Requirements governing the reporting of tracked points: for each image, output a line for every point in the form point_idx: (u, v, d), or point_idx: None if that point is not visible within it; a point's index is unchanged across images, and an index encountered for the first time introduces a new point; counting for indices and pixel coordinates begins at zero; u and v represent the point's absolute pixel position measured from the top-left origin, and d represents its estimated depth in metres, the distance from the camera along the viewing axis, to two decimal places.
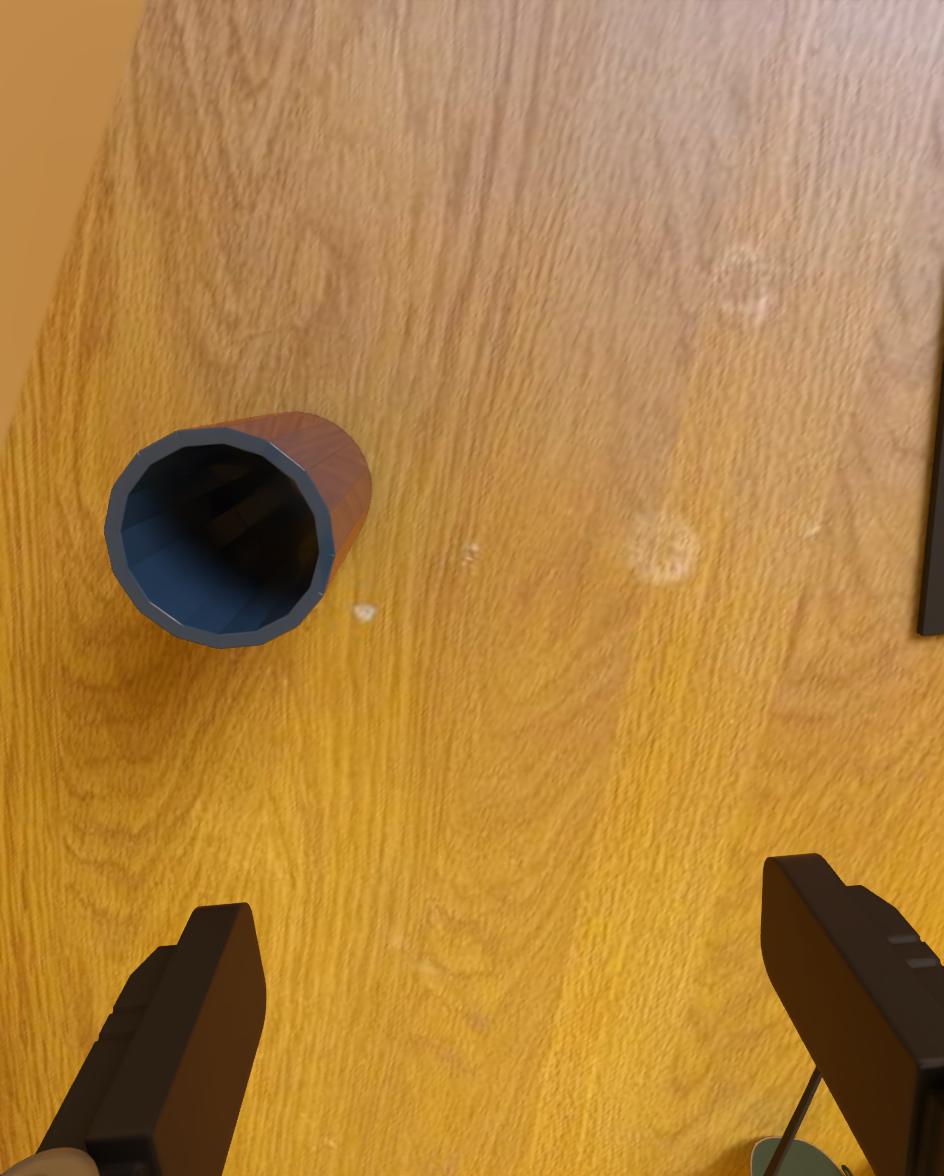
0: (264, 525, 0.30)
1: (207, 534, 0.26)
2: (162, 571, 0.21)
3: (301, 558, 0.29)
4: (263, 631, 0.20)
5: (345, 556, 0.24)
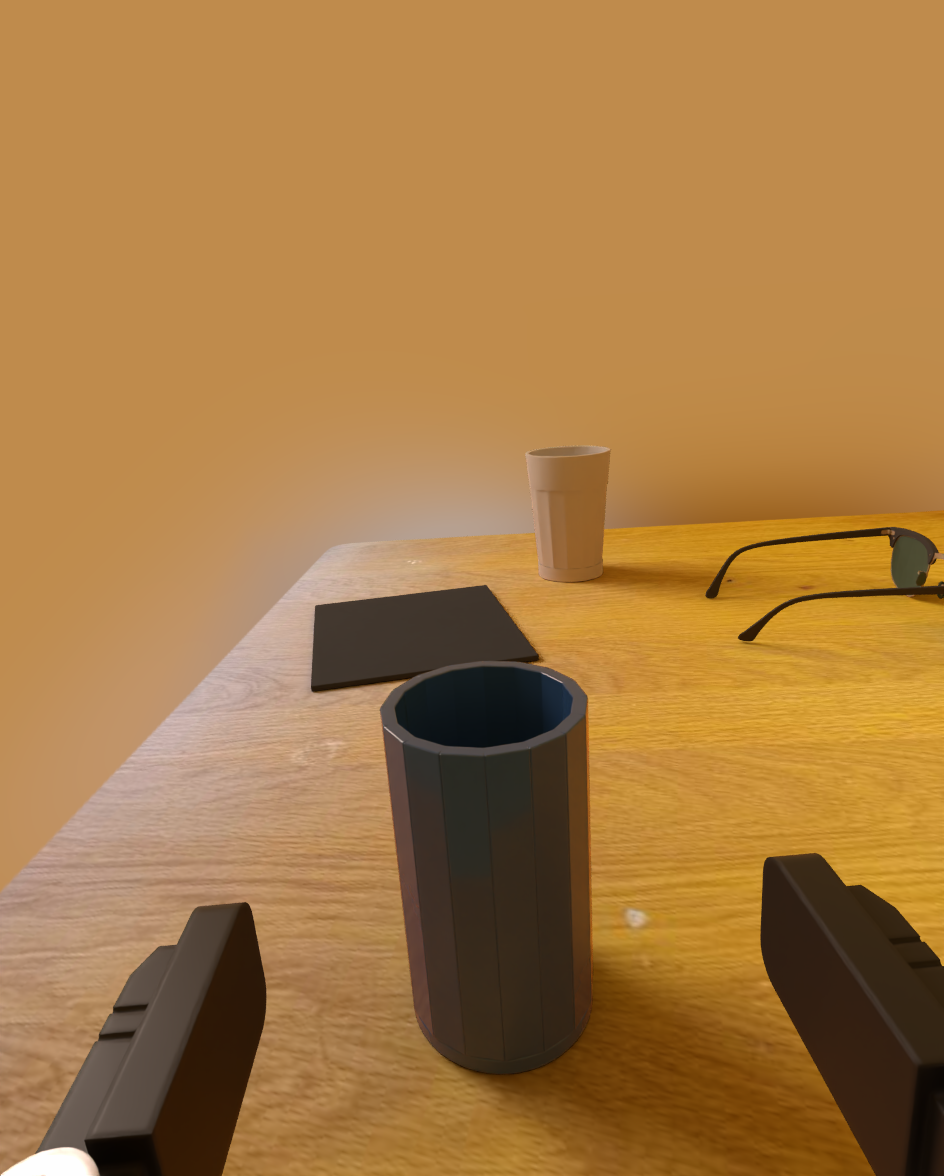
0: None
1: None
2: None
3: None
4: (560, 679, 0.23)
5: None
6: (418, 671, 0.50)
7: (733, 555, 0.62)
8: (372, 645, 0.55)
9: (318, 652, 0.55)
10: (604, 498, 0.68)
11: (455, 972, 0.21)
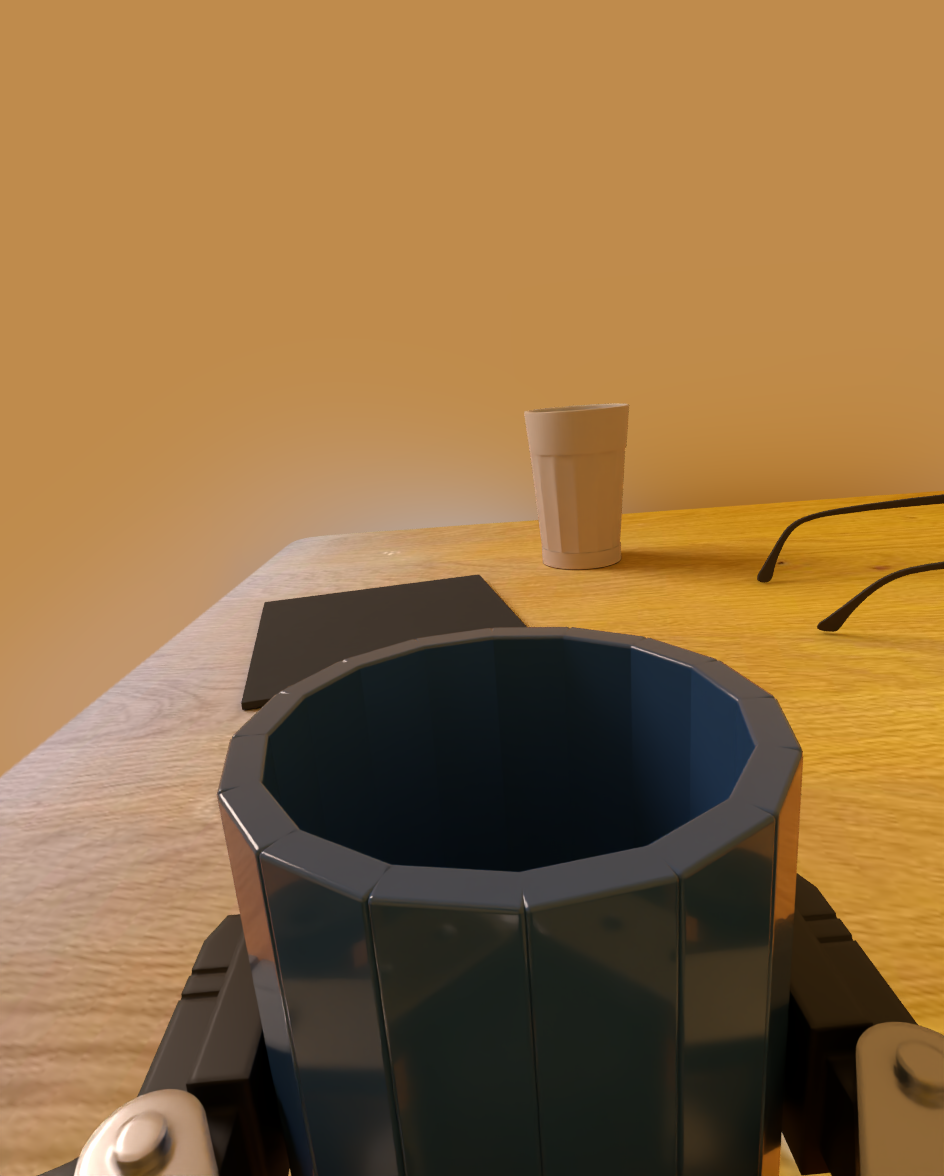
0: None
1: None
2: None
3: None
4: (683, 659, 0.09)
5: None
6: None
7: (790, 528, 0.49)
8: (330, 648, 0.42)
9: (258, 658, 0.41)
10: (622, 465, 0.55)
11: None
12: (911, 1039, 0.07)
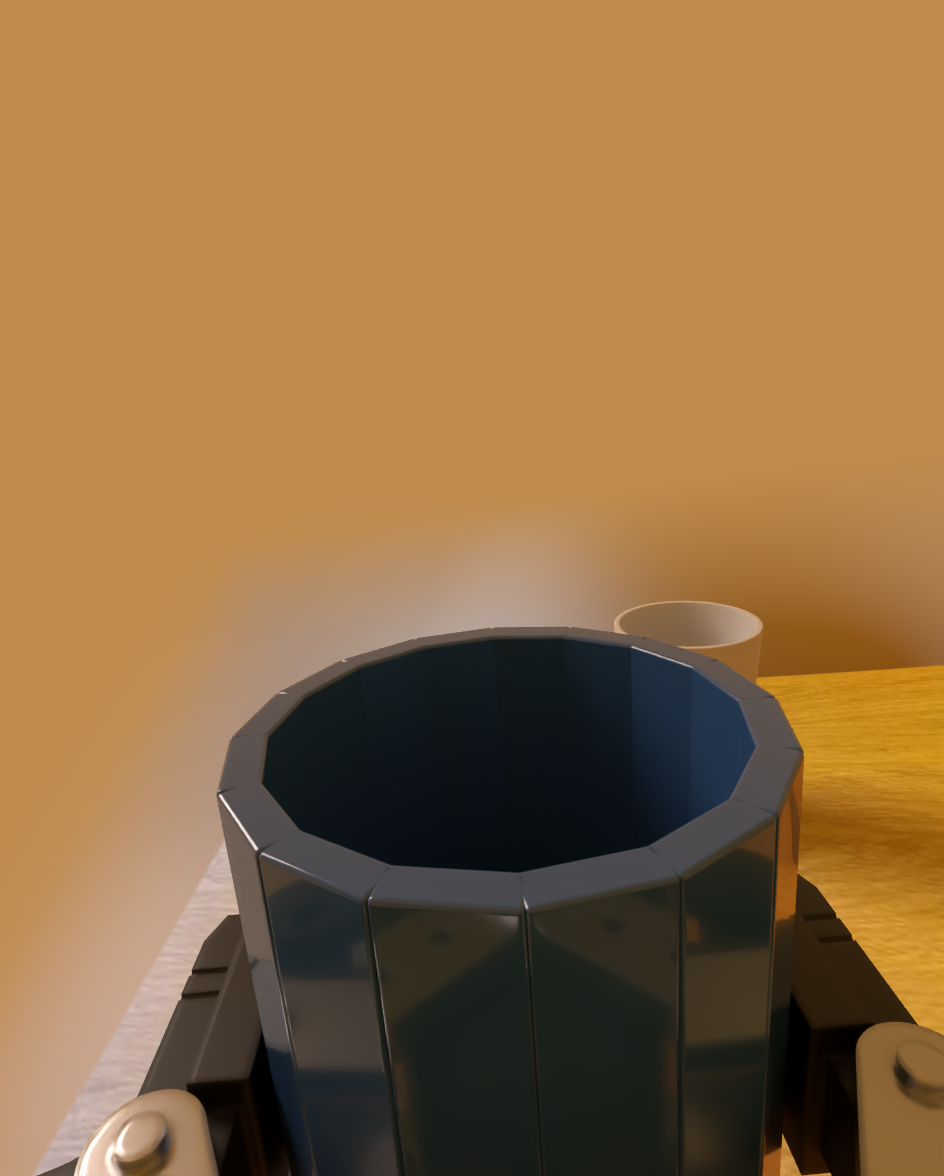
0: None
1: None
2: None
3: None
4: (684, 659, 0.09)
5: None
6: None
7: None
8: None
9: None
10: None
11: None
12: (911, 1039, 0.07)
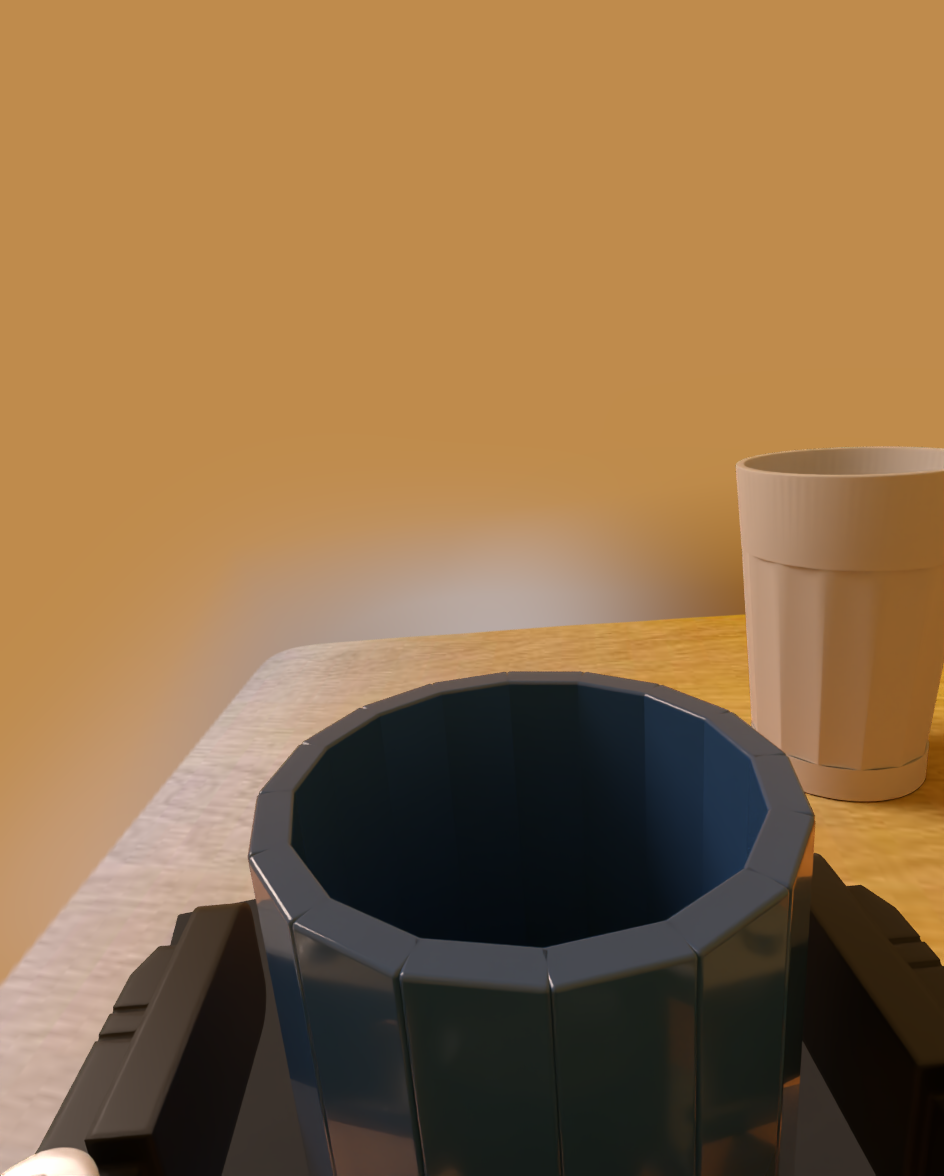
0: None
1: None
2: None
3: None
4: (697, 710, 0.10)
5: None
6: None
7: None
8: None
9: None
10: None
11: None
12: None
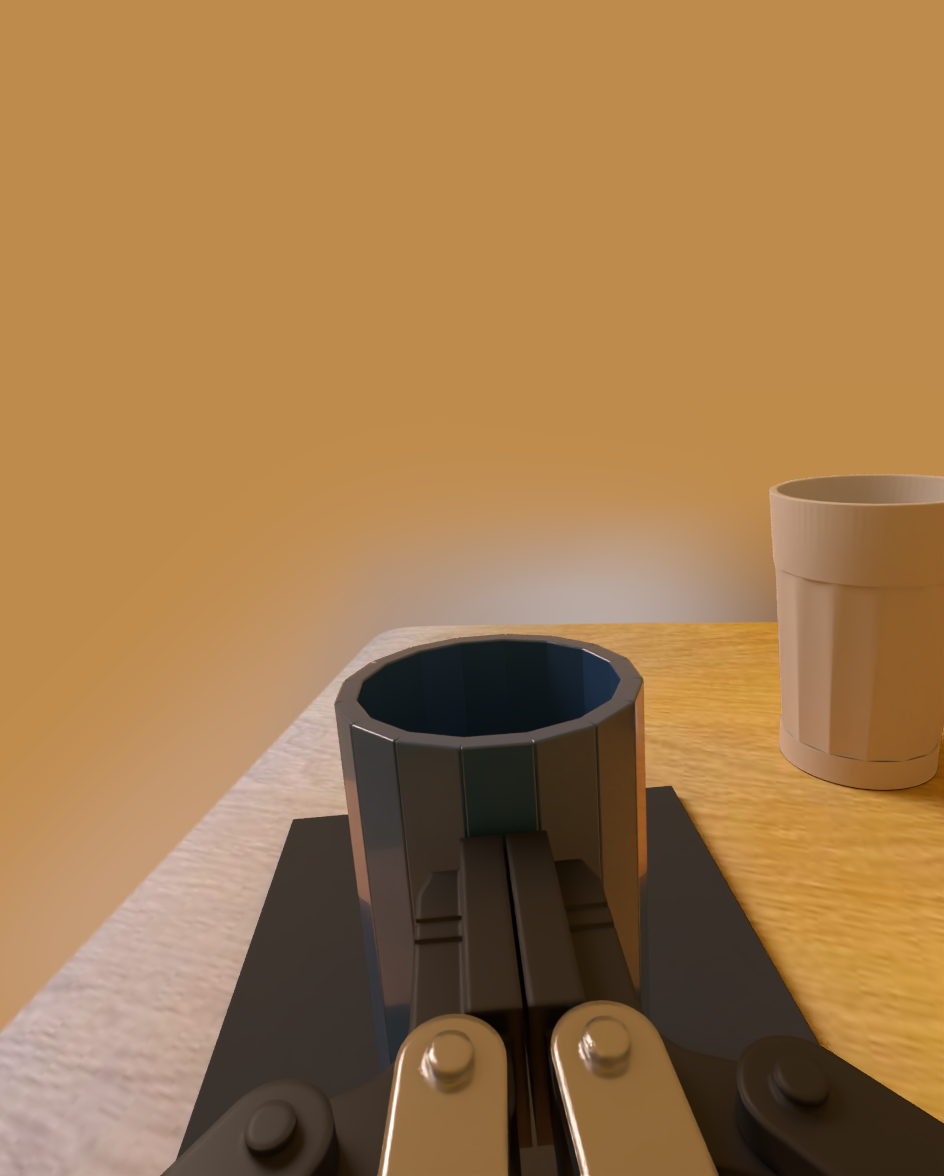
0: None
1: None
2: None
3: None
4: (607, 657, 0.15)
5: None
6: None
7: None
8: (374, 1068, 0.19)
9: (215, 1084, 0.19)
10: None
11: None
12: (605, 1016, 0.08)
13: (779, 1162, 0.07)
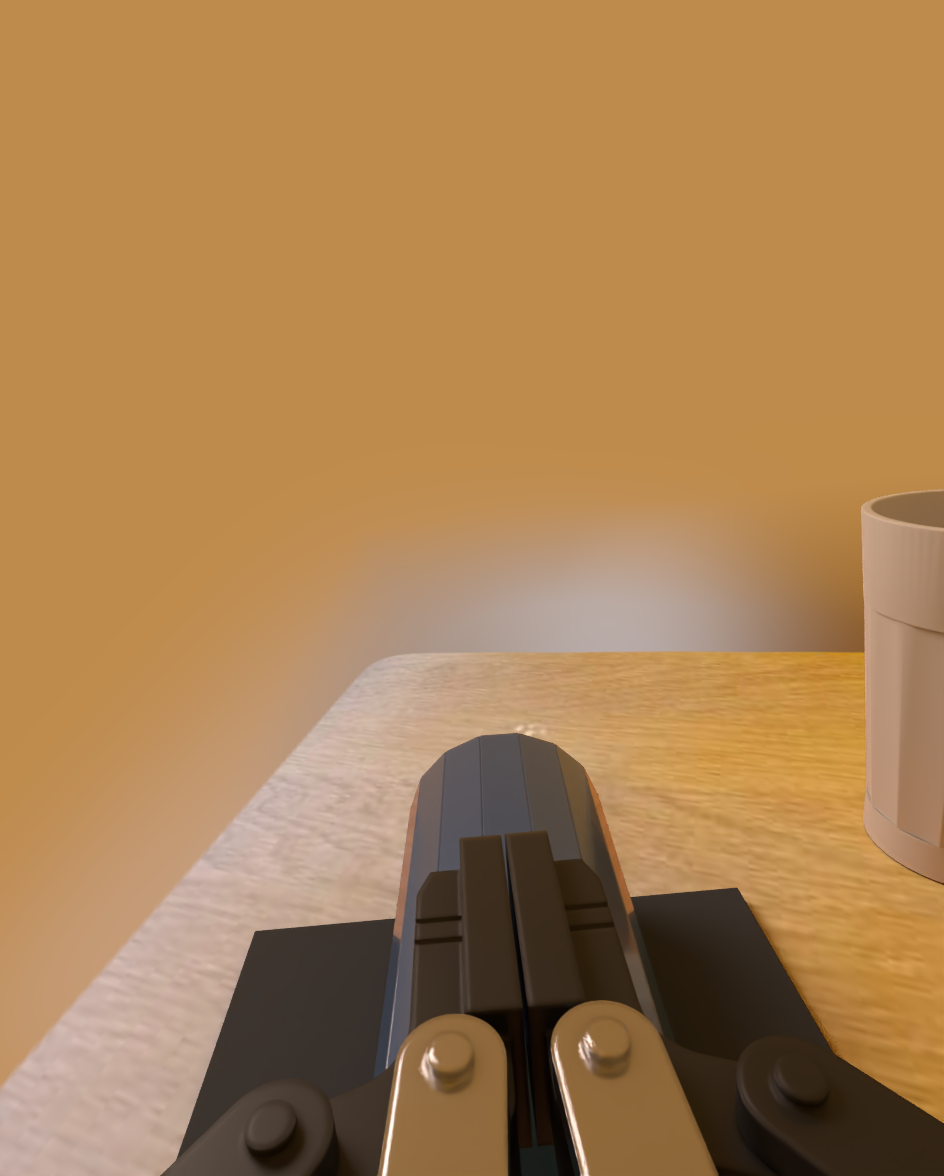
0: None
1: None
2: None
3: None
4: None
5: None
6: None
7: None
8: None
9: None
10: None
11: None
12: (605, 1015, 0.08)
13: (779, 1162, 0.07)
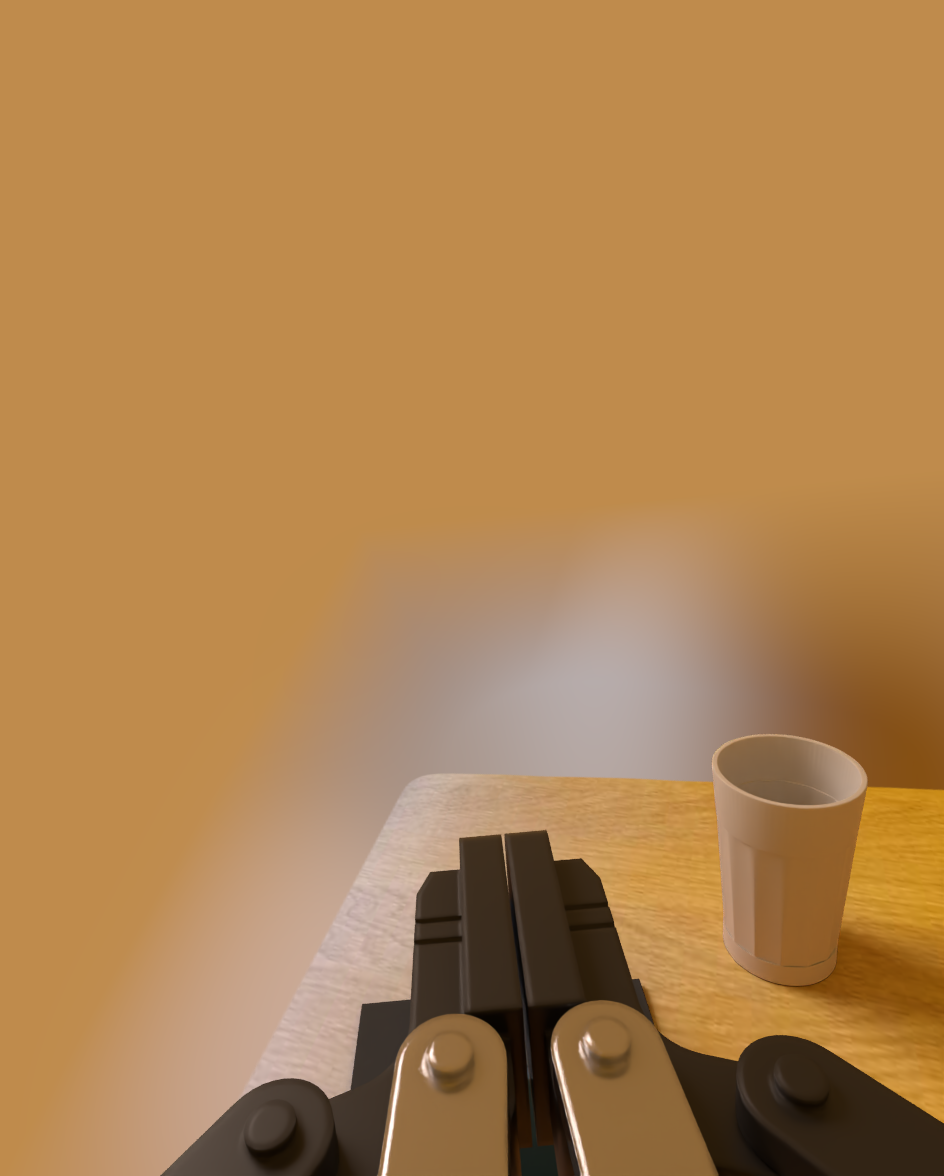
0: None
1: None
2: None
3: None
4: None
5: None
6: None
7: None
8: None
9: None
10: (852, 856, 0.40)
11: None
12: (606, 1016, 0.08)
13: (779, 1162, 0.07)
